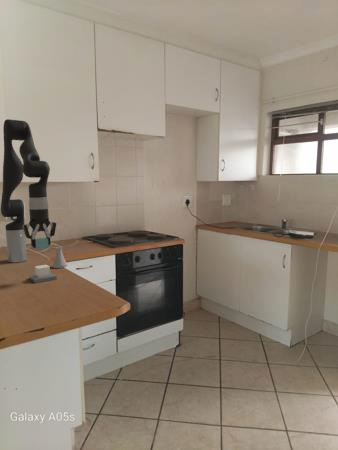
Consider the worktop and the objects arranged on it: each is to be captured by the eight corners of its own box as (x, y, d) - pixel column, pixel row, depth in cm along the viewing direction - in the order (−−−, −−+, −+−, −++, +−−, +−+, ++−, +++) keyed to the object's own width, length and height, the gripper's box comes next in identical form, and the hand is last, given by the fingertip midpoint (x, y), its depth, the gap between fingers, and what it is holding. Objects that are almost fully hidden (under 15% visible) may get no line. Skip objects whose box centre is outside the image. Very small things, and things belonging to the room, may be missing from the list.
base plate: (29, 278, 145) (29, 274, 145) (50, 274, 150) (49, 271, 150) (35, 283, 138) (35, 279, 138) (56, 279, 143) (56, 275, 143)
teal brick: (33, 247, 143) (33, 238, 142) (45, 246, 146) (45, 237, 145) (36, 249, 139) (35, 240, 138) (48, 248, 142) (48, 239, 141)
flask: (52, 265, 167) (51, 246, 165) (67, 264, 169) (66, 245, 168) (52, 269, 160) (51, 249, 159) (67, 267, 162) (66, 248, 161)
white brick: (35, 275, 144) (34, 266, 144) (46, 273, 147) (46, 264, 147) (38, 277, 140) (38, 268, 140) (50, 275, 143) (49, 266, 143)
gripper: (52, 206, 147) (54, 243, 149) (18, 208, 139) (21, 247, 141) (58, 207, 141) (60, 246, 143) (23, 209, 133) (25, 250, 135)
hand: (41, 246), depth 142 cm, fingers closed on teal brick, 5 cm apart
